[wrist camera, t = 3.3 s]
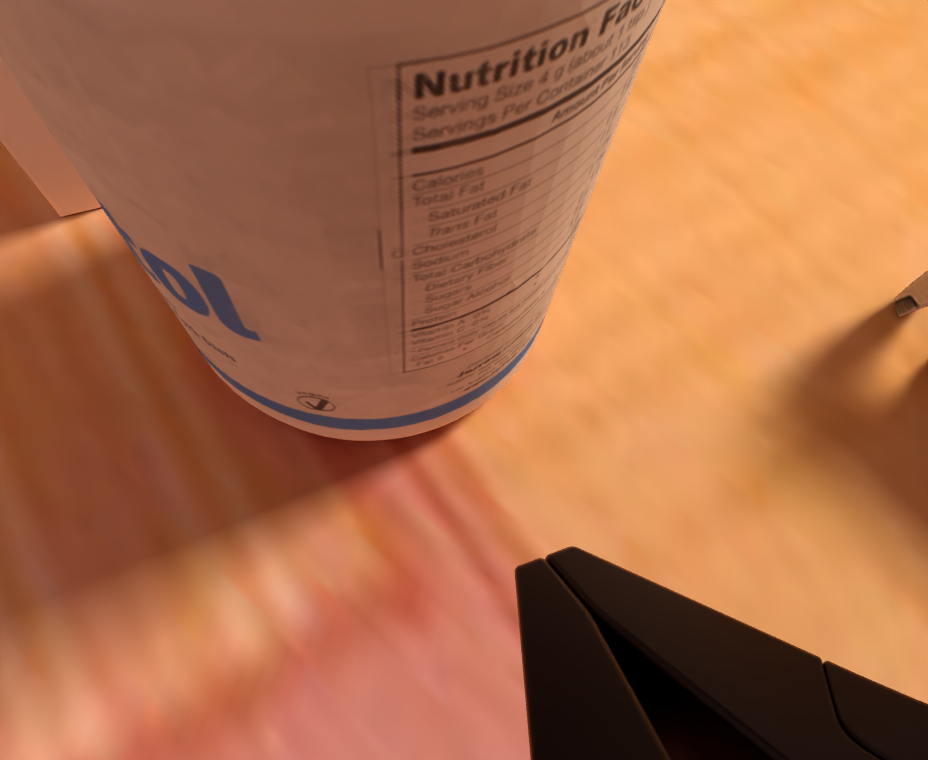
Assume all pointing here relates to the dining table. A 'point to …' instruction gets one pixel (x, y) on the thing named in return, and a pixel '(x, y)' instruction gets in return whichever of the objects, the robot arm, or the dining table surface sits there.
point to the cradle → (40, 151)
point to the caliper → (913, 296)
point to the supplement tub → (341, 179)
